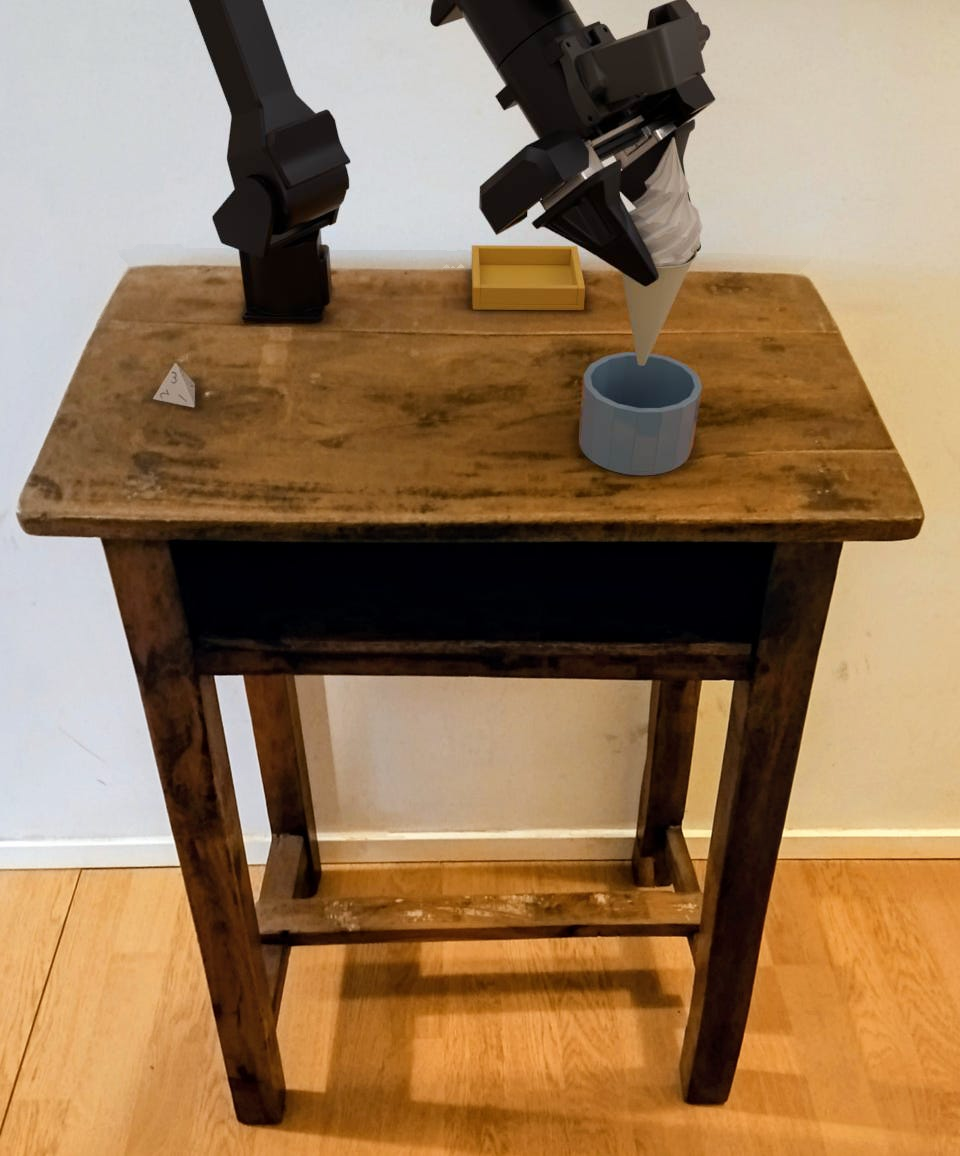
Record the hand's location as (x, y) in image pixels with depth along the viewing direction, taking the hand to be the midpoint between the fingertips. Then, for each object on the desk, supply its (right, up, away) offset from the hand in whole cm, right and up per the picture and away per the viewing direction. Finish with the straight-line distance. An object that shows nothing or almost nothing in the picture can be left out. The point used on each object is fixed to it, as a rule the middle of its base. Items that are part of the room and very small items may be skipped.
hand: (673, 268), depth 71 cm
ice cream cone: (-1, -5, +6) cm, 8 cm away
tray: (-8, +6, +27) cm, 29 cm away
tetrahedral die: (-34, -6, +13) cm, 37 cm away
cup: (-1, -10, +9) cm, 13 cm away
